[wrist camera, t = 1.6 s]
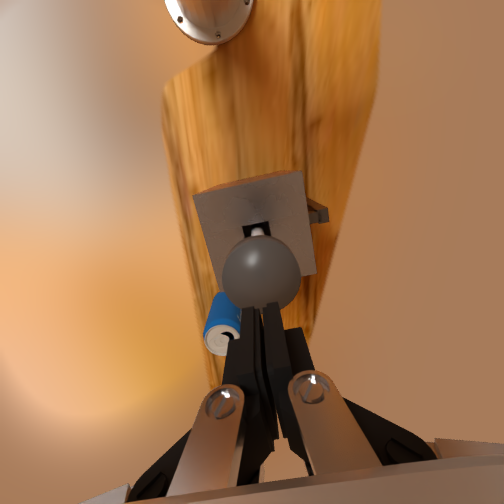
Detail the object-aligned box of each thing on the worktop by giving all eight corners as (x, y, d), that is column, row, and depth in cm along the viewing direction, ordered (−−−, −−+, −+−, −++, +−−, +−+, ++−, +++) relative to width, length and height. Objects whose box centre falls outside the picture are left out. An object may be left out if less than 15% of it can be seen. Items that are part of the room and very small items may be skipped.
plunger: (216, 195, 33) (171, 226, 15) (283, 180, 32) (323, 192, 14) (232, 257, 36) (211, 349, 17) (294, 244, 35) (340, 326, 17)
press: (217, 185, 43) (192, 195, 25) (296, 167, 42) (330, 164, 24) (232, 244, 46) (220, 292, 28) (306, 229, 45) (342, 268, 27)
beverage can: (251, 307, 50) (250, 348, 39) (223, 321, 51) (215, 364, 40) (235, 282, 49) (230, 316, 37) (207, 296, 50) (193, 333, 38)
